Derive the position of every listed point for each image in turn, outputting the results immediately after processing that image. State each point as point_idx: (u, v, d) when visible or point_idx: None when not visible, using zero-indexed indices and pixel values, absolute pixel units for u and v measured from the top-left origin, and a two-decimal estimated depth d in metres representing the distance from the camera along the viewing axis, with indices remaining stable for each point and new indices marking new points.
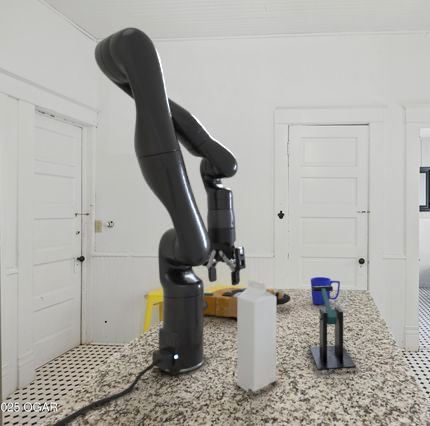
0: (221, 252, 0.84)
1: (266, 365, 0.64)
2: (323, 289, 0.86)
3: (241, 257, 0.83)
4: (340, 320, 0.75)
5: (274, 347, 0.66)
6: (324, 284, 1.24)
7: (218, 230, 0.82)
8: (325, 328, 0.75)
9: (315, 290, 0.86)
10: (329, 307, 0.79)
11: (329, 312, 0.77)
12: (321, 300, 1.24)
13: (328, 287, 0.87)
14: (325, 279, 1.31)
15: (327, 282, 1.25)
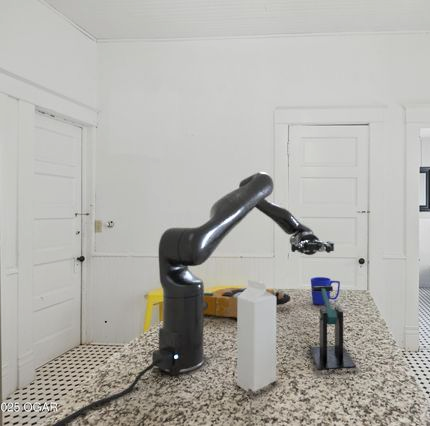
0: (315, 240, 1.07)
1: (266, 365, 0.64)
2: (323, 289, 0.86)
3: None
4: (340, 320, 0.75)
5: (274, 347, 0.66)
6: (324, 284, 1.24)
7: None
8: (325, 328, 0.75)
9: (315, 290, 0.86)
10: (329, 307, 0.79)
11: (329, 312, 0.77)
12: (321, 300, 1.24)
13: (328, 287, 0.87)
14: (325, 279, 1.31)
15: (327, 282, 1.25)
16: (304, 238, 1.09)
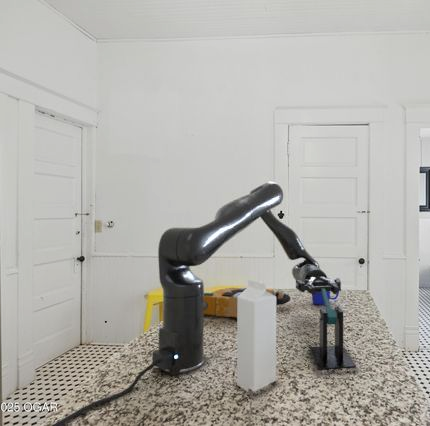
0: (322, 276, 0.94)
1: (266, 365, 0.64)
2: (323, 289, 0.86)
3: None
4: (340, 320, 0.75)
5: (274, 347, 0.66)
6: None
7: (320, 269, 1.00)
8: (325, 328, 0.75)
9: (315, 290, 0.86)
10: (329, 307, 0.79)
11: (329, 312, 0.77)
12: (321, 300, 1.24)
13: (328, 287, 0.87)
14: None
15: None
16: (310, 274, 0.96)
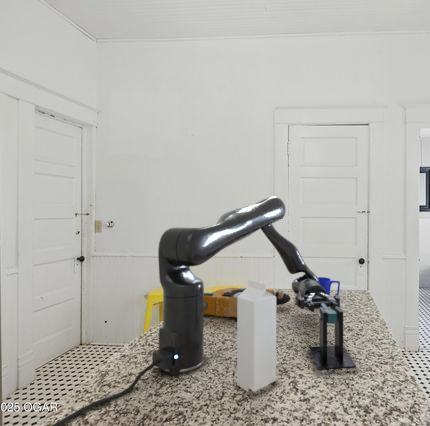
0: (322, 292, 0.95)
1: (266, 365, 0.64)
2: (322, 303, 0.87)
3: None
4: (340, 320, 0.75)
5: (274, 347, 0.66)
6: (324, 284, 1.24)
7: (319, 284, 1.01)
8: (325, 328, 0.75)
9: (314, 305, 0.87)
10: None
11: (329, 311, 0.77)
12: None
13: (327, 302, 0.88)
14: (325, 279, 1.31)
15: (327, 282, 1.25)
16: (309, 290, 0.97)
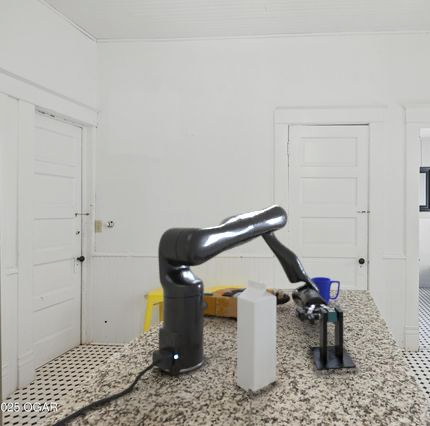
0: (322, 304, 0.95)
1: (266, 365, 0.64)
2: None
3: None
4: (340, 320, 0.75)
5: (274, 347, 0.66)
6: (324, 284, 1.24)
7: (319, 295, 1.01)
8: (325, 328, 0.75)
9: (315, 316, 0.86)
10: None
11: None
12: None
13: None
14: (325, 279, 1.31)
15: (327, 282, 1.25)
16: (310, 302, 0.97)
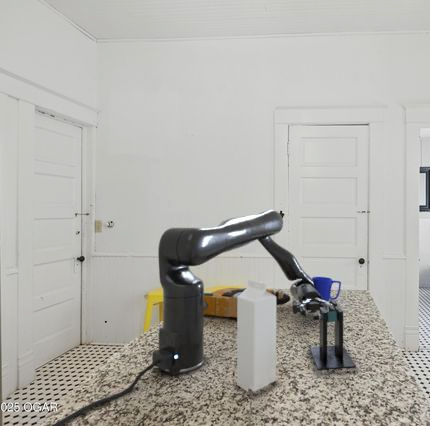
0: (317, 298, 1.02)
1: (266, 365, 0.64)
2: None
3: None
4: (340, 320, 0.75)
5: (274, 347, 0.66)
6: (325, 283, 1.25)
7: (315, 290, 1.08)
8: (325, 328, 0.75)
9: (315, 317, 0.86)
10: None
11: None
12: None
13: None
14: (326, 279, 1.31)
15: (328, 281, 1.26)
16: (306, 296, 1.04)
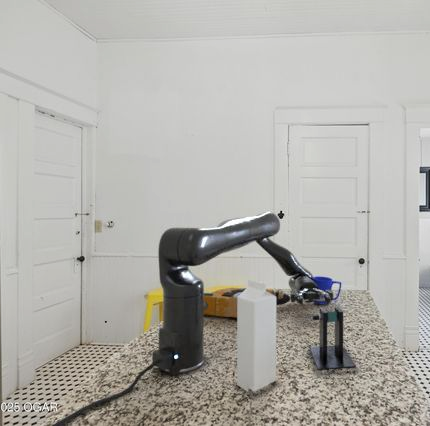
0: (314, 288, 1.07)
1: (266, 365, 0.64)
2: None
3: None
4: (340, 320, 0.75)
5: (274, 347, 0.66)
6: (325, 284, 1.24)
7: (312, 281, 1.13)
8: (325, 328, 0.75)
9: (315, 317, 0.86)
10: None
11: None
12: None
13: None
14: (327, 279, 1.31)
15: (329, 282, 1.25)
16: (303, 286, 1.09)
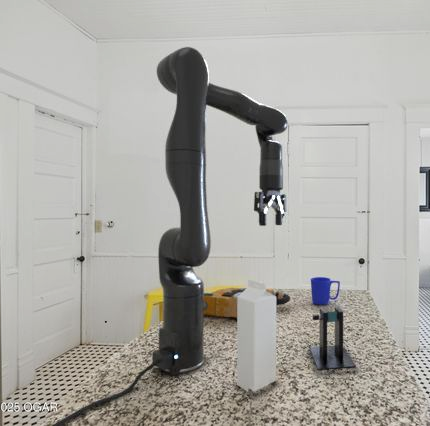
0: (278, 197, 1.00)
1: (266, 365, 0.64)
2: None
3: None
4: (340, 320, 0.75)
5: (274, 347, 0.66)
6: (324, 284, 1.24)
7: (282, 178, 0.99)
8: (325, 328, 0.75)
9: (315, 317, 0.86)
10: None
11: None
12: (321, 300, 1.25)
13: None
14: (325, 279, 1.31)
15: (327, 282, 1.25)
16: (273, 188, 0.96)
